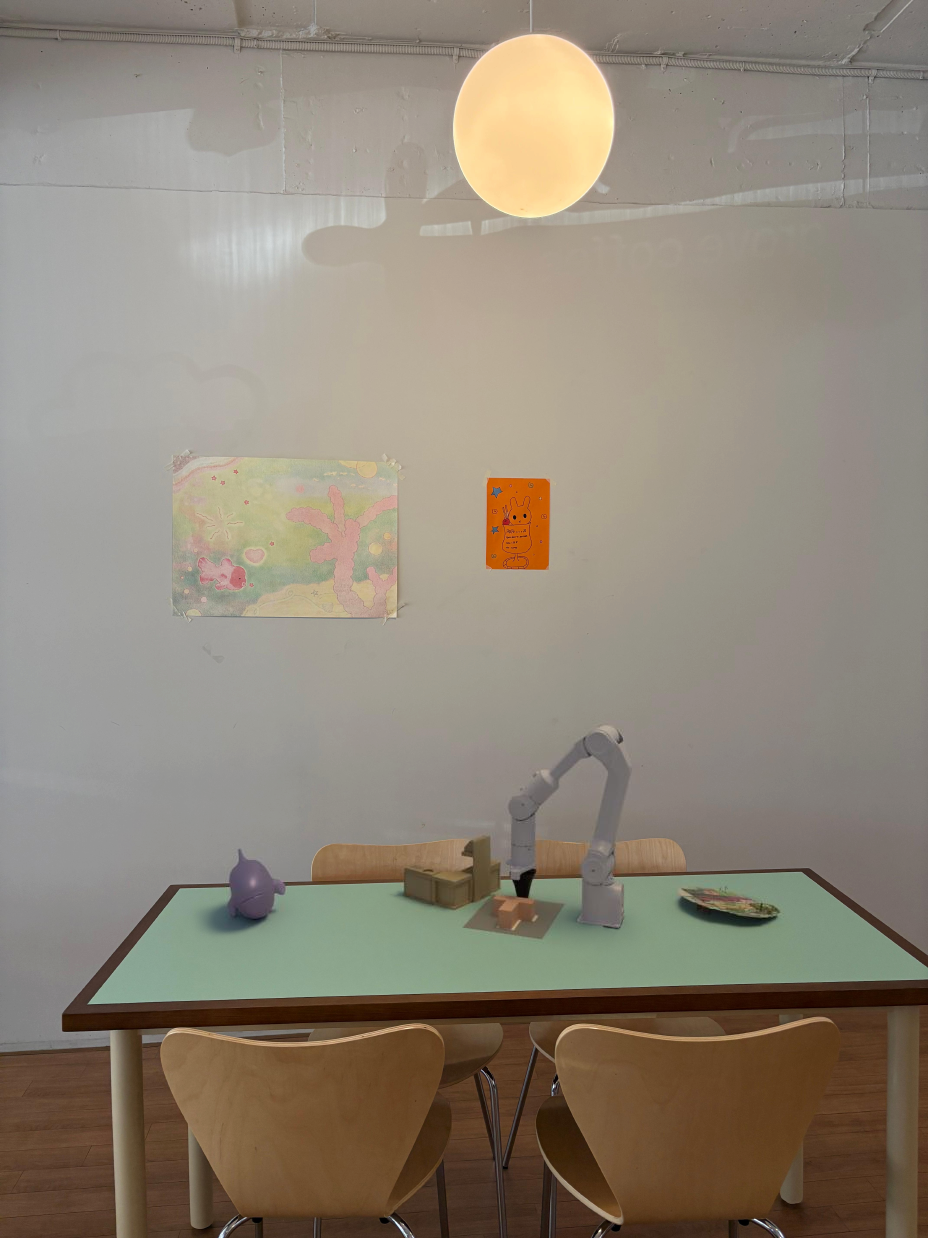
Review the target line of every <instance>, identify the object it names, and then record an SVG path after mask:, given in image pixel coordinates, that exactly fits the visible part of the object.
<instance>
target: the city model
mask: <svg viewBox="0 0 928 1238" xmlns="http://www.w3.org/2000/svg"><path fill="white" fill-rule="evenodd" d="M726 889H728V887H727V884H726V886H724V891H723V890H722V887H720V888H719V889H715V888H707V887H698V886H689V885H686V886H682V887H680V888H678V891H677V893H678V895H680V896H681V897H683V898H684V899H686V900H689V901H690V902H693V903H695V904H696V911H697V912H698V911H701V913H700V914H701V915H708V914H710V910H711V909H714V910H718V911H722V912H725V913H726V912H727V913H730V914H735V915H737V916H740V917H741V916H742V917H751V918H769V917H771V918H773V917H777V916H778V914H780V912H781V910H780V909H779V908H778V907H776V906H775V905H773V904H769V903H763V902H757V901H755V900H753V899H751V898H748V897H745V896H742V895H740V894H738V893H734V892H731V891H726Z"/></svg>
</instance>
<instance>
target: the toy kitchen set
mask: <svg viewBox="0 0 928 1238" xmlns="http://www.w3.org/2000/svg"><path fill="white" fill-rule="evenodd" d="M491 851H492V850H491V835H481V836H479V837H475V838H472V839H470V840H469V841H468V842H467V844H465V845H464V848H463V850H462V851H461V852H460V853H461V856H462V857H468V858H472V865H471V866H468V867H465V868H464V869H461V870H455V871H454V870H450V871H442V870H438V869H435V868H432V867H428V866H425V865H421V864H417V863H412V864H410V865H407V866H404V868H403V871H404V872H403V892H404V893H403V896H404V897H407V898H410V899H413V900H416V901H420V902H423V903H425V904H430V905H432V906H434V905H435V906H438V907H439V906H440V907H443V908H446V909H448V910H453V911H455V910H458V909H460V908H463V907H465V906H468V905H469V904H472V903H477V902H479V901H482V900H484V899H486V898H489V897H491V895H492V894H493V893H496V892H497V891H500V890H502V889H501V885H502V884H501V881H502V879H501V871H502V870H501V861H499V860H498V861H497V860H493V859H491Z"/></svg>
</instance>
